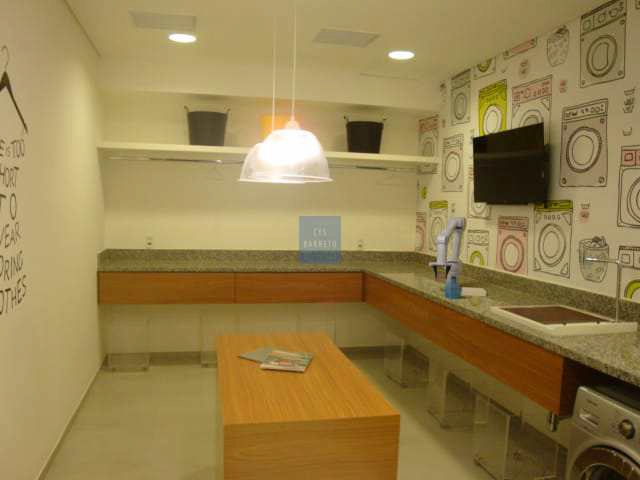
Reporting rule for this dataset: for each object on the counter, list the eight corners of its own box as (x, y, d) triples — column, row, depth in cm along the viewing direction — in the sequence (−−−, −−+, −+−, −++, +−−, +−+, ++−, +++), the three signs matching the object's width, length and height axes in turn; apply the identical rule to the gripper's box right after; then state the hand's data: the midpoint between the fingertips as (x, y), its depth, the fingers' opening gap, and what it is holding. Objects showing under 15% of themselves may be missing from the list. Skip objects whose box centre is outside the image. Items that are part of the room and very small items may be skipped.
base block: (461, 292, 311) (461, 287, 311) (482, 293, 309) (482, 288, 309) (464, 295, 299) (464, 290, 299) (485, 296, 297) (486, 291, 297)
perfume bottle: (450, 299, 284) (451, 277, 283) (444, 297, 290) (445, 275, 289) (460, 299, 286) (461, 277, 285) (454, 296, 292) (455, 275, 291)
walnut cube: (436, 280, 309) (436, 272, 308) (444, 281, 308) (445, 272, 308) (436, 281, 304) (437, 273, 303) (445, 282, 303) (446, 273, 303)
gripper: (429, 255, 302) (428, 278, 303) (455, 256, 300) (454, 280, 301) (429, 254, 309) (428, 277, 310) (454, 255, 307) (453, 278, 308)
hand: (441, 278), depth 306 cm, fingers closed on walnut cube, 5 cm apart
